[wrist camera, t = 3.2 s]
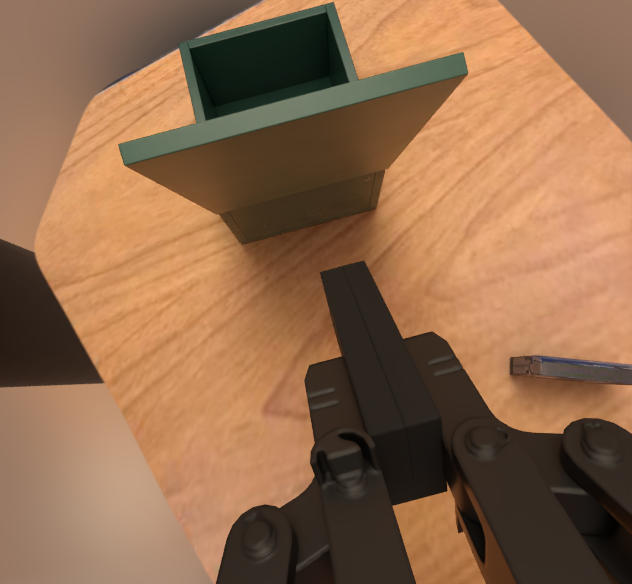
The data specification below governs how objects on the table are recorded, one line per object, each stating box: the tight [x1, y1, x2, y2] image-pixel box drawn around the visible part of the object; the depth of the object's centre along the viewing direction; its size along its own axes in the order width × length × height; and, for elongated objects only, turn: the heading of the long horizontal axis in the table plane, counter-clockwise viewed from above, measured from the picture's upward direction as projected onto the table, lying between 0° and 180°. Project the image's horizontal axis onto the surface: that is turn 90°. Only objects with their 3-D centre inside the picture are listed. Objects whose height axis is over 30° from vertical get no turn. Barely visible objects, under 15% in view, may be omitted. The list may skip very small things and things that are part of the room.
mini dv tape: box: [510, 355, 632, 385], centre depth 35 cm, size 8×2×6 cm, turn 84°
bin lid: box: [118, 52, 468, 214], centre depth 25 cm, size 16×14×1 cm
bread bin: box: [179, 2, 385, 245], centre depth 39 cm, size 16×14×9 cm
